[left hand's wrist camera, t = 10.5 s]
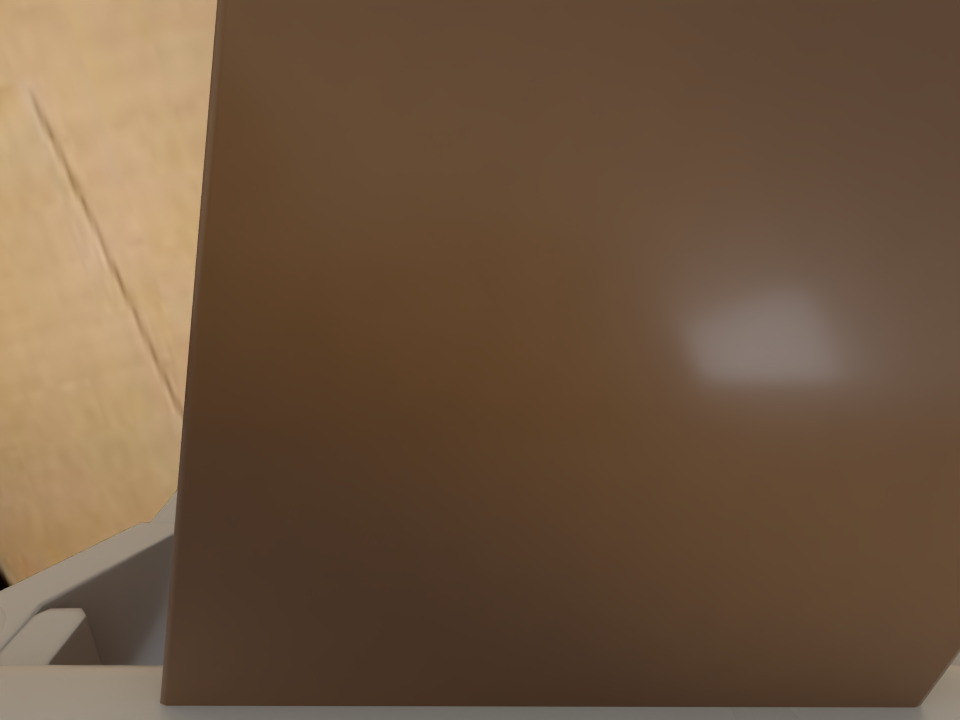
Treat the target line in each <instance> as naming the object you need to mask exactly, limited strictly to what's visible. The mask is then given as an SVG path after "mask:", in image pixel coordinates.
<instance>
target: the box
mask: <svg viewBox="0 0 960 720" xmlns="http://www.w3.org/2000/svg"><path fill="white" fill-rule="evenodd" d="M959 652H960V0H217V12H216V25H215V37H214V49H213V61H212V73H211V86H210V98H209V110H208V122H207V135H206V147H205V159H204V171H203V184H202V196H201V208H200V220H199V233H198V245H197V257H196V269H195V281H194V294H193V306H192V318H191V330H190V343H189V355H188V367H187V379H186V392H185V404H184V416H183V428H182V441H181V453H180V465H179V477H178V489H177V502H176V514H175V526H174V538H173V551H172V563H171V575H170V587H169V600H168V612H167V624H166V636H165V649H164V661H163V673H162V685H161V697H160V703H161V704H164V705H166V706H479V707H903V708H915V707H917V706H920V705H921V704H922V703H923V701H924V700H925V699H926V697H927V696H928V695H929V693H930V692H931V691H932V689H933V688H934V686H935V685H936V684H937V682H938V681H939V680H940V678H941V677H942V676H943V674H944V673H945V672H946V670H947V669H948V667H949V666H950V665H951V663H952V662H953V661H954V659H955V658H956V657H957V655H958V654H959Z"/></svg>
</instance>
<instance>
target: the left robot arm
mask: <svg viewBox="0 0 960 720" xmlns="http://www.w3.org/2000/svg"><path fill="white" fill-rule="evenodd" d="M176 502H177V491H176V492H175V493H174V495H173V496H172V497H171V498H170V499H169V501H168V502H167V503H166V504H165V505H164V507H163V508H162V509H161V510H160V511H159V513H158V514H157V515H156V516H155V517H154V519H153V520H152V521H151V522H150V523H139V524H137V525H135V526H133V527H131V528H128V529H126V530H124V531H122V532H120V533H118V534H116V535H114V536H112V537H110V538H108V539H106V540H104V541H102V542H100V543H98V544H96V545H94V546H92V547H90V548H88V549H86V550H83V551H81V552H79V553H77V554H75V555H73V556H71V557H69V558H67V559H65V560H63V561H61V562H59V563H57V564H55V565H53V566H51V567H49V568H47V569H45V570H43V571H41V572H38V573H36V574H34V575H32V576H30V577H28V578H26V579H24V580H22V581H20V582H18V583H16V584H14V585H12V586H10V587H8V588H6V589H4V590H2V591H0V720H960V652H959V654H958V655H957V657H956V658H955V659H954V661H953V662H952V663H951V665H950V666H949V667H948V669H947V670H946V672H945V673H944V674H943V676H942V677H941V678H940V680H939V681H938V682H937V684H936V685H935V686H934V688H933V689H932V691H931V692H930V693H929V695H928V696H927V697H926V699H925V700H924V701H923V703H922V704H921V705H920V706H917V707H915V708H903V707H479V706H166V705H164V704H161V703H160V697H161V685H162V673H163V661H164V649H165V636H166V624H167V612H168V600H169V587H170V575H171V563H172V551H173V538H174V526H175V514H176Z"/></svg>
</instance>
